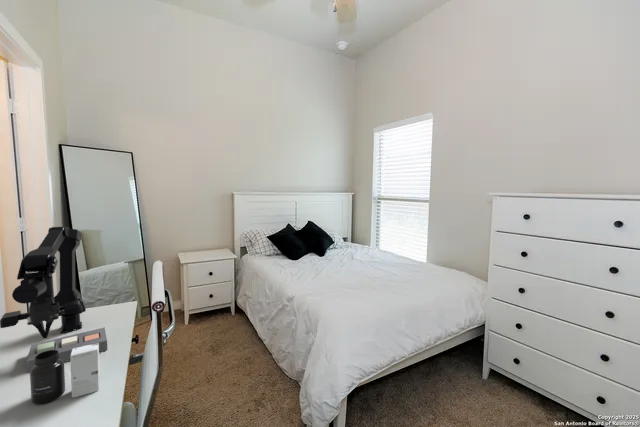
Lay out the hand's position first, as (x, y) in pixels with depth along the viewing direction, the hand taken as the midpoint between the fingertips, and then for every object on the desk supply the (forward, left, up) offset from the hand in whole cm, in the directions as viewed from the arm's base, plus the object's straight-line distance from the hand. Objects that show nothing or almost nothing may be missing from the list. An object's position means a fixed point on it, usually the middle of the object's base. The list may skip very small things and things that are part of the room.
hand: (45, 338), depth 97 cm
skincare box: (+27, +10, -7) cm, 30 cm away
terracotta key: (0, +12, -6) cm, 13 cm away
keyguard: (0, +6, -7) cm, 9 cm away
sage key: (0, 0, -5) cm, 5 cm away
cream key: (0, +6, -5) cm, 8 cm away
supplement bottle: (+24, +2, -7) cm, 25 cm away
